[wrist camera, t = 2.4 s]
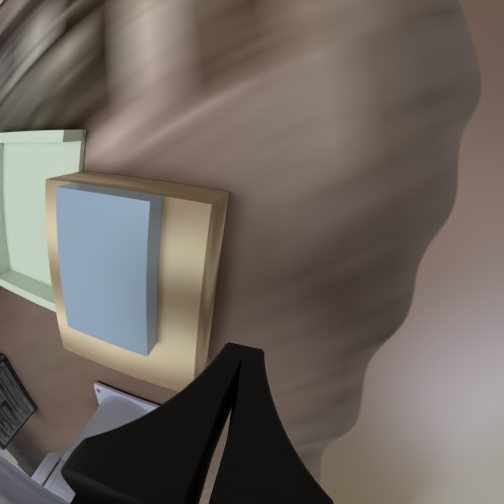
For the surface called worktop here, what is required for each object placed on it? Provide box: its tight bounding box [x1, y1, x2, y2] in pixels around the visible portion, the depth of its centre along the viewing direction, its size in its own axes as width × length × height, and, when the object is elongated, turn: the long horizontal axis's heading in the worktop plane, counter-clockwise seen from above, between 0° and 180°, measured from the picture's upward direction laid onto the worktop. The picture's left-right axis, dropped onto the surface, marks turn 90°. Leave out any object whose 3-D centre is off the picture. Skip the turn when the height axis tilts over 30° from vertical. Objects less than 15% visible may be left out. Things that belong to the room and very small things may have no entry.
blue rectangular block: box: [56, 183, 163, 357], centre depth 15 cm, size 9×6×2 cm, turn 170°
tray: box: [0, 130, 86, 312], centre depth 19 cm, size 14×11×2 cm
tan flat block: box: [45, 171, 229, 392], centre depth 19 cm, size 13×11×4 cm
